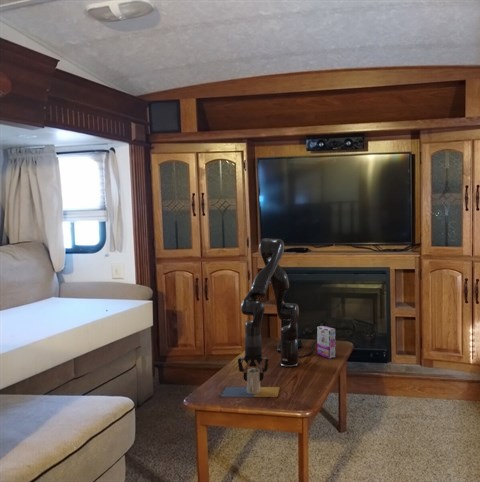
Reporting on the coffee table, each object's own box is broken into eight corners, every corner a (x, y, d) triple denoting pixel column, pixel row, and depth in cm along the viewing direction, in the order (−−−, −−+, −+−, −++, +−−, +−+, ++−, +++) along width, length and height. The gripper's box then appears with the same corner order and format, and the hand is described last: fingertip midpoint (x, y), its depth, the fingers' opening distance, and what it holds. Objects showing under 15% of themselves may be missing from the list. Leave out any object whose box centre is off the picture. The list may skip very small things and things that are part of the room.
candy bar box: (336, 357, 247) (336, 328, 247) (329, 359, 244) (329, 330, 243) (323, 352, 256) (323, 325, 255) (316, 354, 253) (316, 326, 252)
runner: (226, 387, 203) (226, 387, 203) (279, 387, 203) (279, 387, 203) (220, 397, 192) (220, 396, 192) (277, 397, 192) (277, 396, 192)
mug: (248, 388, 201) (248, 368, 200) (261, 388, 201) (261, 368, 200) (244, 396, 192) (244, 375, 191) (258, 396, 191) (258, 375, 191)
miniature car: (303, 346, 270) (303, 333, 269) (289, 354, 253) (289, 340, 253) (290, 344, 273) (290, 331, 273) (275, 352, 257) (275, 339, 256)
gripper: (270, 341, 200) (270, 377, 201) (238, 341, 200) (239, 377, 201) (268, 346, 193) (268, 383, 193) (235, 346, 193) (236, 383, 194)
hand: (253, 380), depth 197 cm, fingers closed on mug, 6 cm apart
